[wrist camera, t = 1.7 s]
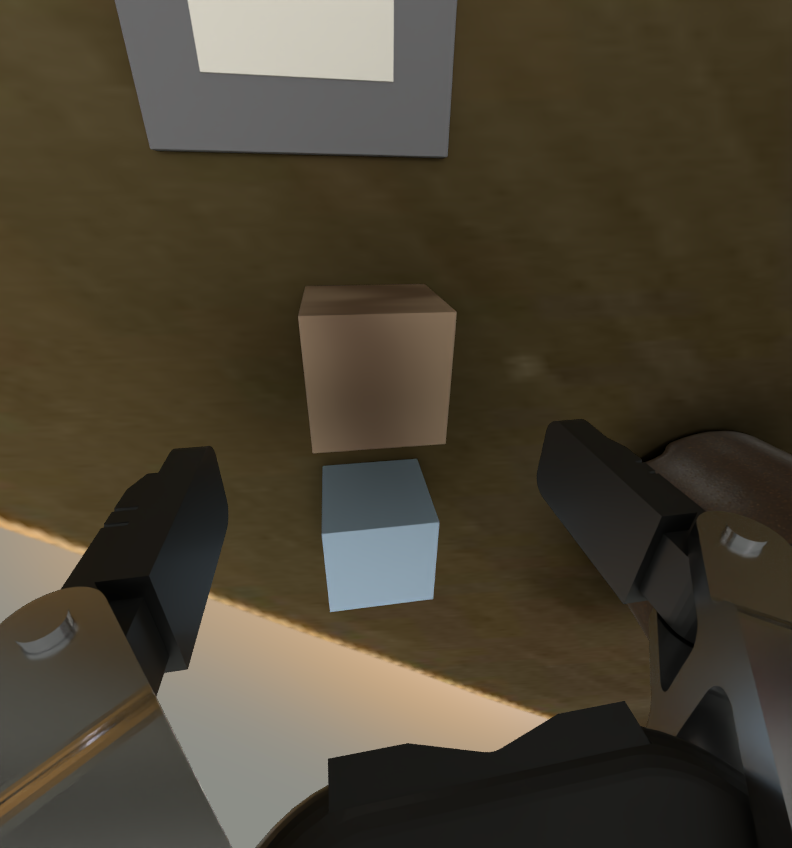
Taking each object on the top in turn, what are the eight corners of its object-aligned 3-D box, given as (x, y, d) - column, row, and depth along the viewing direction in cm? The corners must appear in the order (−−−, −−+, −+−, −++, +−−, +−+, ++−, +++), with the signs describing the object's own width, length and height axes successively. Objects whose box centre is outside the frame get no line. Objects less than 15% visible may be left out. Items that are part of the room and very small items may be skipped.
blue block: (416, 457, 22) (439, 522, 17) (413, 527, 24) (432, 598, 20) (322, 465, 21) (321, 534, 17) (329, 535, 23) (330, 612, 19)
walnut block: (424, 283, 17) (456, 312, 13) (419, 390, 20) (445, 443, 15) (305, 285, 17) (297, 316, 12) (315, 395, 19) (312, 453, 15)
